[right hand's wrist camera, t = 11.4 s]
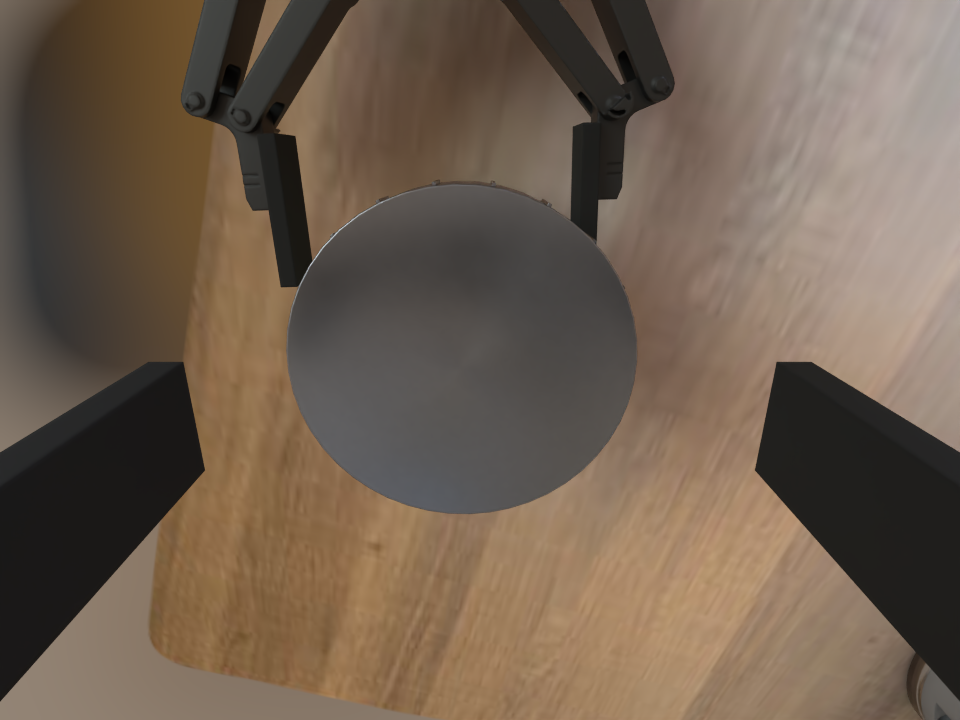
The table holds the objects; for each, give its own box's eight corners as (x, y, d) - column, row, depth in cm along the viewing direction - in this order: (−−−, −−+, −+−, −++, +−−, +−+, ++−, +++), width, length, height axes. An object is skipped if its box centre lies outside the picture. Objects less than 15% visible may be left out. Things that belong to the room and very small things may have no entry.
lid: (646, 435, 20) (667, 469, 18) (374, 506, 21) (361, 547, 19) (579, 133, 16) (594, 129, 14) (256, 238, 17) (224, 249, 15)
